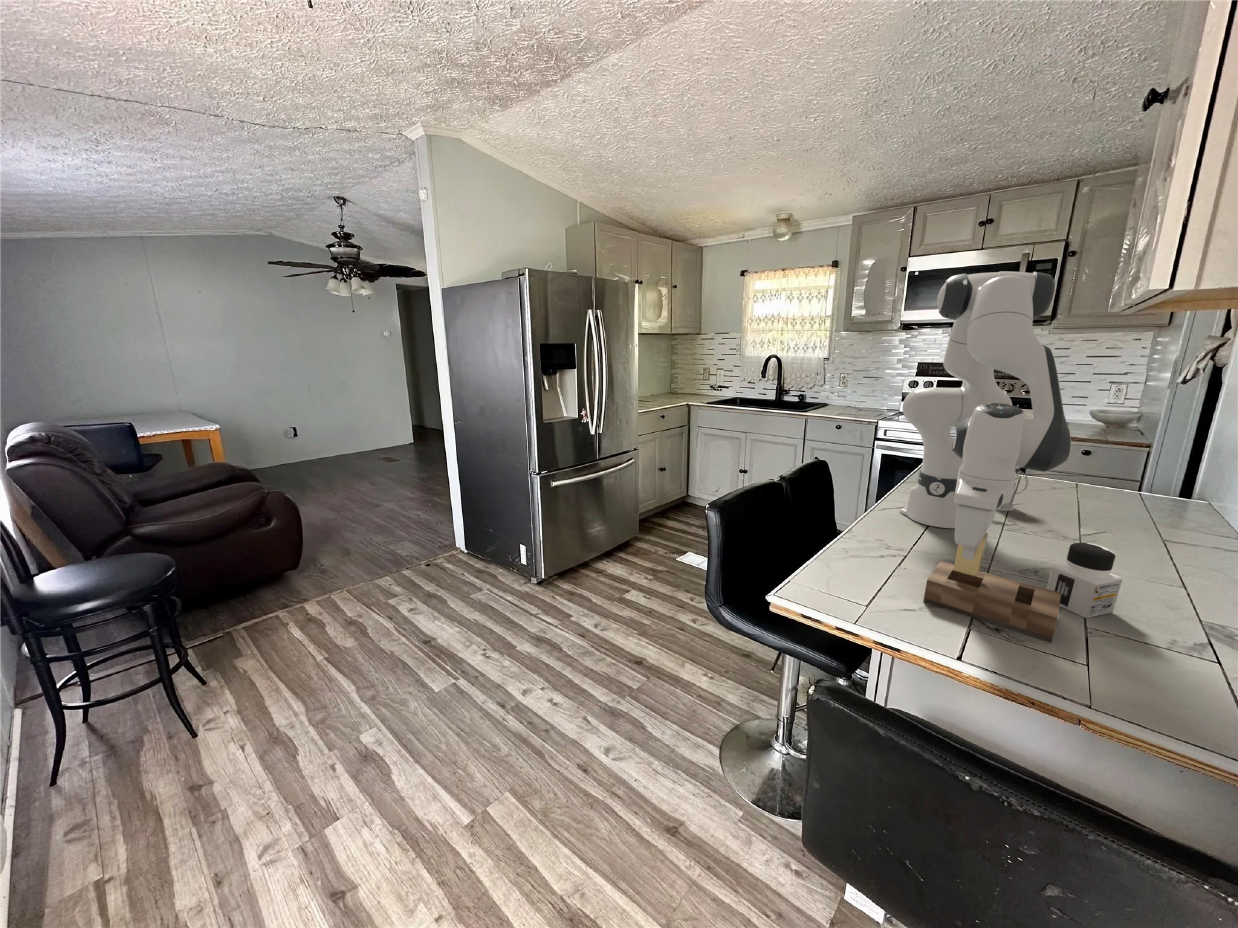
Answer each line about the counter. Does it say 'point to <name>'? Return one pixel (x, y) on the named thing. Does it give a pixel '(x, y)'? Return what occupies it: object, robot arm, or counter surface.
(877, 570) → the counter surface
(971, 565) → the light wooden square bit
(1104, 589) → the container
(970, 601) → the walnut socket block
